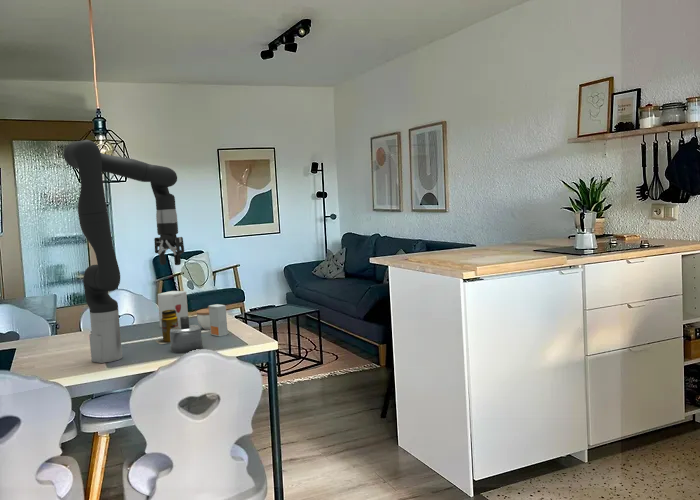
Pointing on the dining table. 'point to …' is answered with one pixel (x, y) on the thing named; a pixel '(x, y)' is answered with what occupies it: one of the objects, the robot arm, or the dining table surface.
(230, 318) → the dining table surface
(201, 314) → the lidded jar
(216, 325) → the skincare box
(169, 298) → the supplement box
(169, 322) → the condiment
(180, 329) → the lid
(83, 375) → the dining table surface
